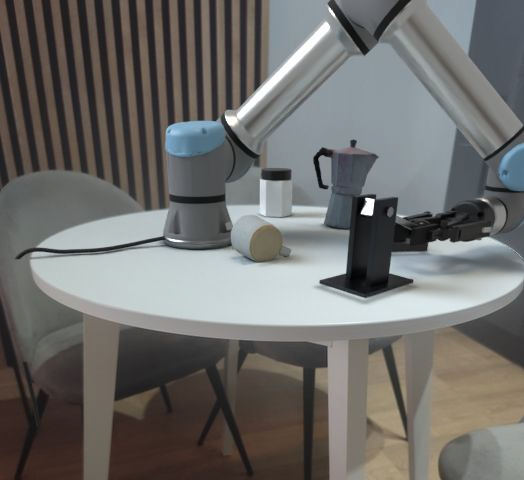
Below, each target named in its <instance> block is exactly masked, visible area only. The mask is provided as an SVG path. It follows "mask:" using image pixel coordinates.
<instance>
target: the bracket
mask: <svg viewBox="0 0 524 480" xmlns="http://www.w3.org/2000/svg"><path fill="white" fill-rule="evenodd" d="M365 198H370V199H374V207H373V217H372V219H371V218H369V217H366V216H364V215H362V214H361V211H362V207H363V204H364V201H365ZM398 204H399V197H397V196H390V197H389V196H388V197H381V198H377V194H375V193H366V194H361V195H357V196H352V208H351V220H350V229H349V232H348V233H349V234H348V245H347V258H346V267H345V273H342V274H338V275H335V276H331V277H330V276H329V277H326V278H323V279H319V282H318V283H319V284H320V285H323V286H326V287H329V288H332V289H335V290H339V291H341V292H344V293H348V294H351V295H354V296H357V297H360V298H362V299H366V298H369V297H372V296H376V295H379V294H381V293H385V292H389V291H392V290H394V289H397V288H401V287H404V286H407V285H411V284H413V283H414V279H413V278H409V277H406V276H401V275H398V274H394V273H390V272H391V271H390V270H391V261H392V253H393V252H392V246H393V238H394V230H395V221H396V215H397V213H398V206H399V205H398Z"/></svg>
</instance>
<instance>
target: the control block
mask: <svg viewBox="0 0 524 480" xmlns="http://www.w3.org/2000/svg"><path fill="white" fill-rule="evenodd" d="M428 247H429V243H425V244H421V245H417V246H410V239H407V238H405V239H400V240H396V241H393V246H392V253H401V252H404V253H405V252H406V253H407V252H428Z"/></svg>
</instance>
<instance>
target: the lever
mask: <svg viewBox="0 0 524 480" xmlns="http://www.w3.org/2000/svg"><path fill="white" fill-rule="evenodd" d="M373 207H374V199H370V198H365V201H364V204H363V207H362V211H361V214H362V215H364V216H366V217H369V218H371V219H372V217H373ZM395 224H398V225H400V226H402V227H404V228H406V229H409V230H410V236H411V230H412V228H416V227H421V226H426V225H430V223H429V222H427V221H425V220H418V221H416V222H414V223H412V222H410V221H407V220H405V219H403V218H402V217H401V216H399V215H397V214H396V221H395Z"/></svg>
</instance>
